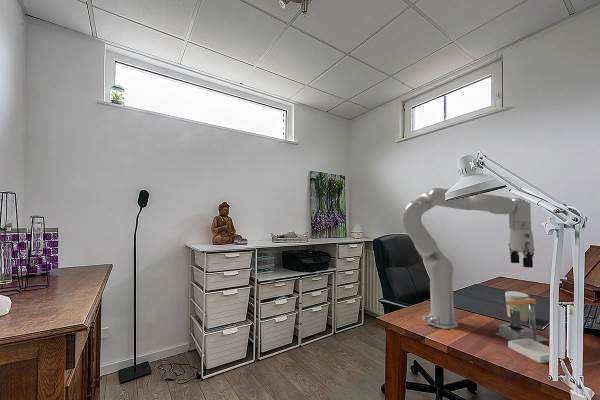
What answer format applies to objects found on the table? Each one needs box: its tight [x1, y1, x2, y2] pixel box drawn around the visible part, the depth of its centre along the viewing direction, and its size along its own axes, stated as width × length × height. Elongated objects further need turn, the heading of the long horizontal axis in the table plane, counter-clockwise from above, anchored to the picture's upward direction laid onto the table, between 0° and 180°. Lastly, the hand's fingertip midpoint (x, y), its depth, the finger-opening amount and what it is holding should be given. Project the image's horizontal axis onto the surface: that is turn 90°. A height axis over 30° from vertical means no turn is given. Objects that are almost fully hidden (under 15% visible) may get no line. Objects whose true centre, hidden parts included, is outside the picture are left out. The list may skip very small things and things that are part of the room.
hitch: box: [494, 303, 550, 343], centre depth 110 cm, size 16×10×14 cm, turn 103°
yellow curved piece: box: [505, 297, 537, 306], centre depth 111 cm, size 14×3×2 cm, turn 103°
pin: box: [509, 306, 522, 330], centre depth 109 cm, size 3×3×12 cm
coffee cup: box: [504, 290, 530, 323], centre depth 130 cm, size 9×9×12 cm
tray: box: [507, 338, 550, 364], centre depth 97 cm, size 10×11×3 cm
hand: (521, 265), depth 116 cm, fingers open, 9 cm apart
